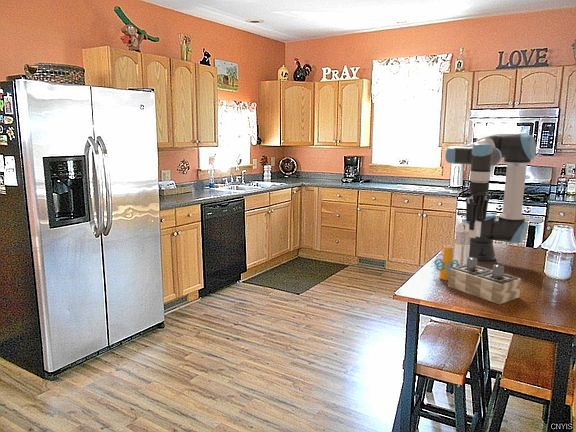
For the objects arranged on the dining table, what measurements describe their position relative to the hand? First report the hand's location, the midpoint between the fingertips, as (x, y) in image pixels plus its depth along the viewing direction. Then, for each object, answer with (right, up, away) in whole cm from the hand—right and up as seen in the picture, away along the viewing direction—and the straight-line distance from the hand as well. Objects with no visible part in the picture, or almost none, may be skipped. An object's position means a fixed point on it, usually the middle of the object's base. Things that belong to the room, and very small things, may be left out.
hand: (474, 236), depth 192 cm
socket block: (+3, -23, 0) cm, 23 cm away
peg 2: (+6, -19, -6) cm, 21 cm away
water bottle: (+5, -17, +29) cm, 34 cm away
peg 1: (0, -17, +3) cm, 18 cm away
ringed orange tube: (-6, -20, +16) cm, 26 cm away
